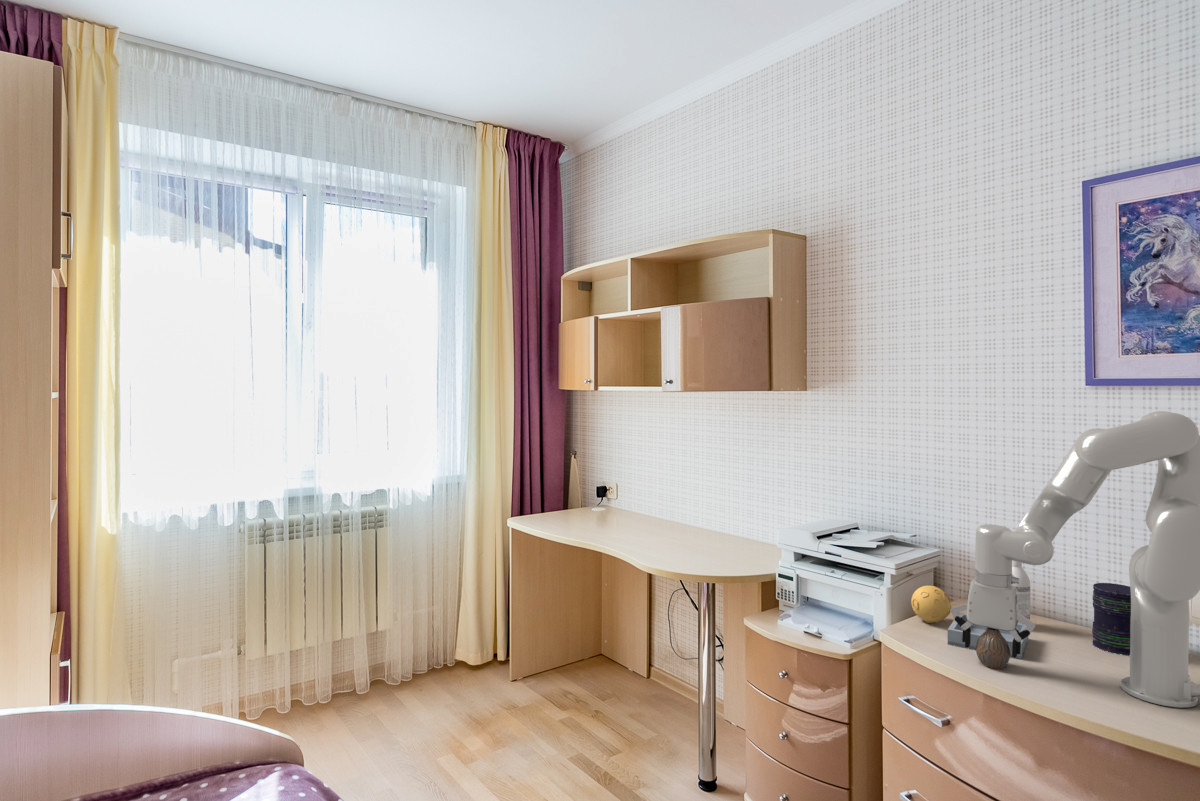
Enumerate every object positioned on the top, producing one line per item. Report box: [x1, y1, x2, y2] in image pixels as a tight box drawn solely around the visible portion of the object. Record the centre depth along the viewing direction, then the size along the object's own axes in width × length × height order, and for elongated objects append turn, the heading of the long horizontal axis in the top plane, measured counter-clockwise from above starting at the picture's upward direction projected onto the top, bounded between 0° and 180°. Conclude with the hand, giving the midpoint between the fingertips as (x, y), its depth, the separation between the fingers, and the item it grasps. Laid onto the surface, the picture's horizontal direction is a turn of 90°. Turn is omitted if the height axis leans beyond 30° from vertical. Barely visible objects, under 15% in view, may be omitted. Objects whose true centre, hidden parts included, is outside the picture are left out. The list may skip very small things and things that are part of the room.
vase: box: [975, 628, 1011, 670], centre depth 157 cm, size 7×7×9 cm
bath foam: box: [1012, 560, 1031, 624], centre depth 183 cm, size 7×7×20 cm
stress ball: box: [910, 585, 952, 624], centre depth 186 cm, size 10×10×10 cm
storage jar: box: [1091, 582, 1131, 656], centre depth 168 cm, size 10×10×15 cm
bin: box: [947, 612, 1029, 661], centre depth 172 cm, size 16×16×4 cm
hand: (990, 651), depth 157 cm, fingers open, 9 cm apart
